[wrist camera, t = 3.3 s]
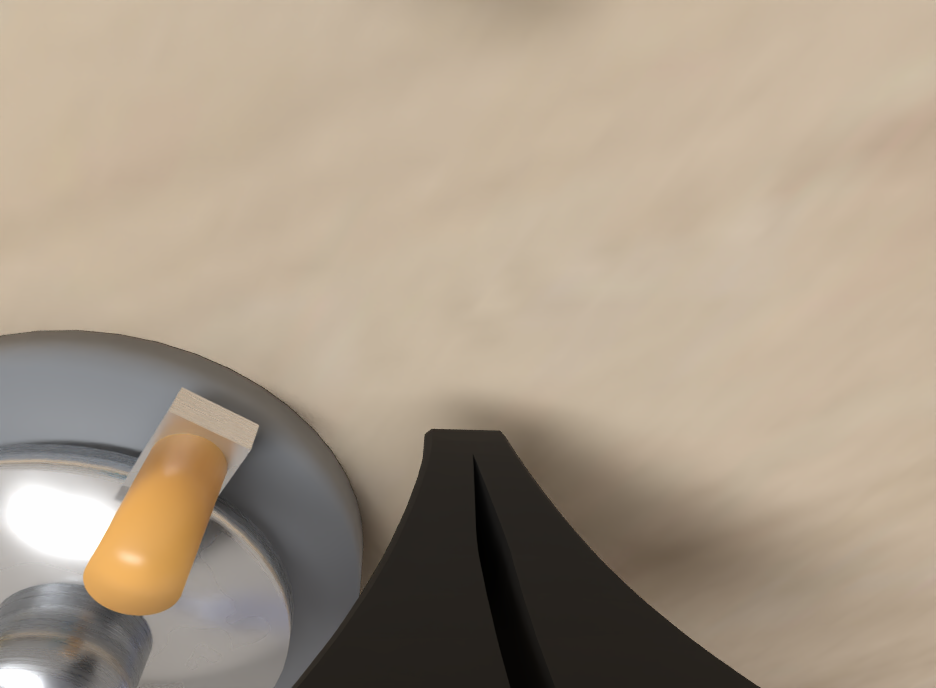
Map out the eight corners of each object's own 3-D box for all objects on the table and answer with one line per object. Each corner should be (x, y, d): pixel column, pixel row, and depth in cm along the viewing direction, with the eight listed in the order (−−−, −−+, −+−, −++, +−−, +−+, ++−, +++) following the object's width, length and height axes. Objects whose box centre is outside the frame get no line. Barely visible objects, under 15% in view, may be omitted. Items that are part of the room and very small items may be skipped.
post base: (457, 544, 17) (473, 707, 13) (163, 744, 20) (105, 926, 16) (53, 214, 12) (-109, 316, 8) (-259, 540, 15) (-489, 730, 11)
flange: (189, 763, 18) (143, 928, 15) (-190, 654, 15) (-353, 835, 12) (415, 501, 14) (417, 648, 11) (-27, 284, 11) (-199, 401, 8)
